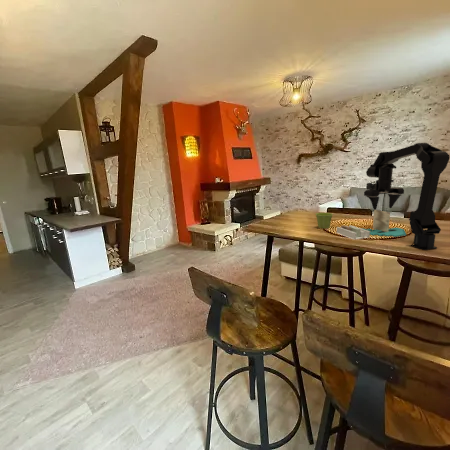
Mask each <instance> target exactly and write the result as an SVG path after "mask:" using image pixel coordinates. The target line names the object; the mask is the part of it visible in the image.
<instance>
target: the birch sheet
mask: <svg viewBox="0 0 450 450" xmlns="http://www.w3.org/2000/svg"><path fill="white" fill-rule="evenodd" d="M390 216H391V212H389V211H383V210H380V209H376V210H374V209H373V221H372V229H373V230H374V229H377V230H381V231H384V232H388V230H389V229H390V220H391V217H390Z"/></svg>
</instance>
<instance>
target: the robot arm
mask: <svg viewBox="0 0 450 450" xmlns="http://www.w3.org/2000/svg"><path fill="white" fill-rule="evenodd" d="M414 155H415V156H416V159H417V160H418V161H420V162H421V163H420V164H421V166H420V167H421V170H422V172H423V179H422V185H421V190H420V194H419V199H418V206H417V208H416V210H413V211H412V210H411V211H410V215H409V219H408V221H409V225H410V229H411V234H414V237H413V243H412V244H410V246H411V247H414V248H417V249H420V250H423V251H428V250H435V249H437V246H435V241H436V234H440V233H441V230H442V229H441V228H440V226H439V224H438V223H437V222H436V214H435V212H434V210H433V208H434V204H435V199H436V194H437V189H438V185H439V180H440V178H441V177H440V176H441V174H443V172H444V171H445V169H446V168H447V167H448V164H449V161H450V154H449V153H448V152H447V151H445V150H442V149H440V148H437V147H435V146H432V145H431V144H429V143H428V142H416V143H414V144H411V145H409V146H406V147H403V148H400V149H396V150H392V151H381V152H380V153H378V156H377V157H376V159H375V160H374V162H373V163H372V164H370V165H369V166H368V168H367V169H366V171H365V173H366V176H367V177H369V178H377V179H376V181H375V183H372V182H367V183H366V186H365V187H366V189H365V190H364V192H363V196H365V197H366V198H368V199H369V200H370V203H371V206H372V209H373V211H374V210H377V209H378V204H379V201H380V195H385V194H387V196H388V198H389V200H388V207H389V209H391V208H393V206H394V205H395V203H396V202H397V200H399V198H400V196H401V197H402V195H405V194H404V193H405V189H404V187H392V183H394V181H395V180H394V179H392V178H393V169H397V166H396V165H395V163H397V162H398V161H399V160H400V159H401V160H402V159H403V158H407V157H408V158H409V157H410V156H414Z"/></svg>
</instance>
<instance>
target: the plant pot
mask: <svg viewBox="0 0 450 450" xmlns="http://www.w3.org/2000/svg"><path fill="white" fill-rule="evenodd" d="M333 215H334V214H333V213H331V212H318V213H315V217H316V220H317V221H316V222H317V227H318V228H319V229H329V228H330V227H331V222H332V217H333Z"/></svg>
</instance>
